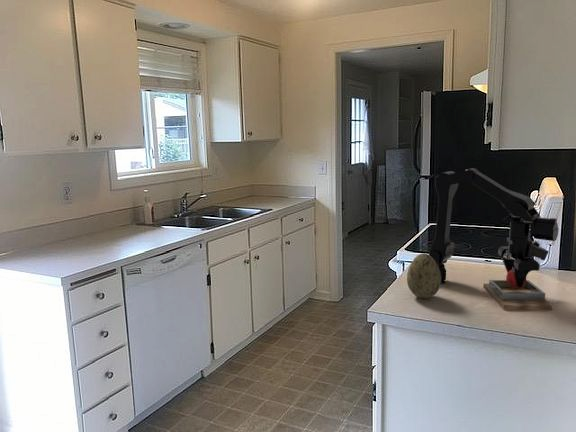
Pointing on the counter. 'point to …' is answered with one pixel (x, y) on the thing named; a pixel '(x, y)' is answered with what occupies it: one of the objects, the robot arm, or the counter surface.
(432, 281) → the decorative egg
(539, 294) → the square metal frame
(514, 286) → the onion
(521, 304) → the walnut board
